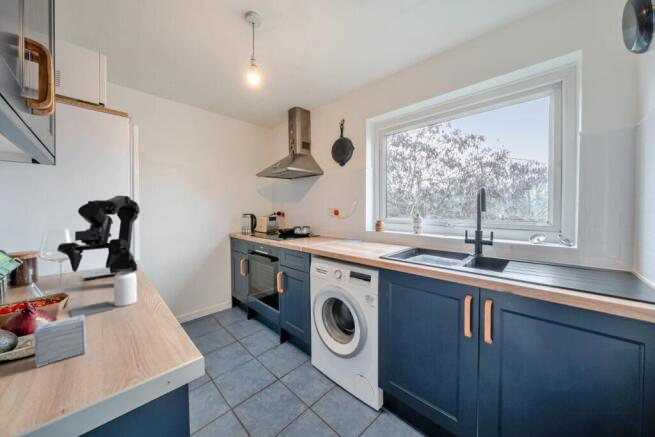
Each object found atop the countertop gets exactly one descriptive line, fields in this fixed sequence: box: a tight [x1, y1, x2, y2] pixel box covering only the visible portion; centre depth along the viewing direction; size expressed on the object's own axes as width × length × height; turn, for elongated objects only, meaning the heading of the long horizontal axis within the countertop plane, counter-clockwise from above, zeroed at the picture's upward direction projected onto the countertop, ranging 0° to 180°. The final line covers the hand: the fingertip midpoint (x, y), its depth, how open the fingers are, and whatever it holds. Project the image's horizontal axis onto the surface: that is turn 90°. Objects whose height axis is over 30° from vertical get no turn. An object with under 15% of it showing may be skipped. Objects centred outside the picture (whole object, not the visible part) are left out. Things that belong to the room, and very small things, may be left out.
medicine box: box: [33, 315, 87, 367], centre depth 57 cm, size 8×4×9 cm, turn 135°
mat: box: [68, 301, 115, 318], centre depth 83 cm, size 10×10×1 cm
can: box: [113, 270, 138, 308], centre depth 88 cm, size 6×6×12 cm
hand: (90, 269), depth 82 cm, fingers open, 9 cm apart
